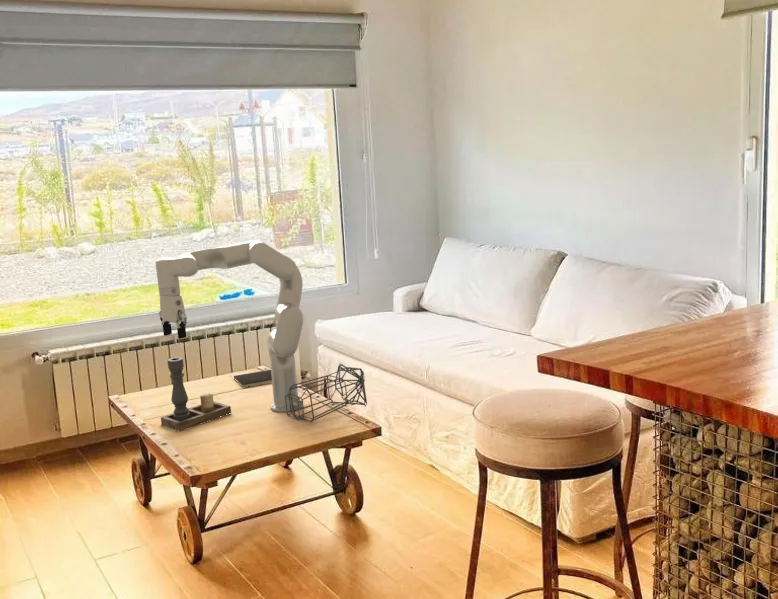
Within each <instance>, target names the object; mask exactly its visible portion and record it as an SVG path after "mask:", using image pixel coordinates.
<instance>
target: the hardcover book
mask: <svg viewBox="0 0 778 599" xmlns="http://www.w3.org/2000/svg"><path fill="white" fill-rule="evenodd" d="M235 379H236V380H237V381H238V382H239V383H238V382H237V381H236V380H235ZM233 380H235V381H236V382H237V383H238V384H239V385H240V387H241V386H242V387H245V388H249V387H248V386H251V387H255V386H254V385H257V386H261V385H260V384H263V385H266V384H265V383H268V384H272V383H271V382H272V375H271V369H268V370H267V369H266V370H260V371H254V372H249V373H243V374H237V375H233ZM242 387H241V388H242Z"/></svg>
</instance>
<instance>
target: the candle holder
mask: <svg viewBox="0 0 778 599" xmlns="http://www.w3.org/2000/svg"><path fill="white" fill-rule="evenodd" d="M184 366H185V365H184V359H183V357H180V356H179V357H171V358H168V359H167V368H168V370H169V371H170V373H171V374H170V375H169V378H170V379H171V380H172V392H171V400H170V401H171V403H172V404H173V405H174V409H173V413H174V415H173V418H174V420H177V421H183V420H186V419H189V418H190V413H189V412H188V411H189V409H188V408H189V407H187V403H188V401H189V396H188V394H187V391H186V389H185V386H184V379H183V377H184V376H185V374H184V373H183V370H184Z"/></svg>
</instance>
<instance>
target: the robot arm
mask: <svg viewBox="0 0 778 599" xmlns="http://www.w3.org/2000/svg"><path fill="white" fill-rule="evenodd" d="M253 264H255V265H256V266H258V267H259V268H260V269H262V270H264V271H266V272H267V273H269V274H271V275H272V276H274V277H276V278H278V279H279V294H278V298H277V303H276V306H275V311H274V318H275V321H276V322H277V323H276V328H275V329H273V330H271V332H269V334H268V336H267V349H268V354H269V356H268V357H269V361H270V362H269V363H270V370H271V375H272V383H271V385H272V396H273V402H272V403H271V405H270V409H271V411H274V412H277V413H286V402H287V412H288V411H290V402H291V398H290V402H289V396H286V395H287V394H289V388H290V387H291V386H292V385H294V384H297V383H298V380H297V379H298V378H297V369H296V359H295V358H296V357H295V354H296V352H297V351H298V347H299V344H300V339H301V334H302V329H303V324H304V314H303V312H302V310H301V309H300V305H301V300H302V293H303V278H302V277H303V276H302V273H301V271H300V268H299V267H298V265H297V264H296V262H295V261H294V260H293V259H291V257H289V256H287V255H285V254H283V253H281V252H280V251H277V249H275V248H273V247H272V246H270V245H268V244H267V243H266V242H264V241H262V240H259V239H255V240H249V241H244V242H238V243H234V244H227V245H223V246H217V247H214V248H213V247H211V248H205V249H200V250H193V251H191V252H190V251H189V252H186V253H182V254H181V255H179V256H178V258H174V257H161V258H158V259H156V261H155V270H156V278H157V287H158V294H159V307H160V311H159V312H158V316H159V320H160V321H161V325H162V330H163V331H162V332H163V336H165V337H166V336H170V335H173V332H172V324H171V323H175V325H176V326H177V328H176V329H177V331H176V332H177V339H184V338H187V331H186V327H187V323H188V322H187V320H188V317H187V315H186V310H185V305H184V301H183V297H182V295H181V289H180V288H181V287H180V279H179V277H181V278H182V277H185V278H186V277H187V278H188V277H193V276H195V275H196V274H197V273H198V272H199V271H202V270H207V269H222V270H223V269H225V270H226V269H234V268H237V267H238V268H239V267H242V266H249V265H253ZM295 386H298V385H295ZM293 388H294V387H293ZM298 390H299V389H298V388H295V389H292V391H291V394H294V395H296V396H298V397H300V395H299V392H298ZM294 395H291V396H292V397H294V398H296V399H298V397H296V396H294ZM285 396H286V402H285ZM296 399H293V398H292V401H293V407H294V410H298V402H297V400H296ZM298 401H301V399H298ZM301 408H302V401H301V402H299V409H301ZM291 411H293V410H292V404H291ZM288 413H289V412H288Z"/></svg>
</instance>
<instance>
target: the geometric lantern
mask: <svg viewBox="0 0 778 599" xmlns="http://www.w3.org/2000/svg"><path fill="white" fill-rule="evenodd" d="M356 371H360V375H359V374H358V373H357V372H356ZM341 372H344V373H343V375H342V376H341ZM346 373H348V374H350V375H351V376H353V377H354V378H356V379H344V377H345V376H346ZM334 374H336V375H335V376H334ZM329 377H331V378H335V379H330V378H329ZM364 377H365V372H364V370H363V369H362V367H351V366H346V365H344V364H342V363H339V365H338V366H337V371H335V372H332V373H330V374H328V375H323V376H319V377H316V378H312V379H308V380H306V381H301V382H299V383H298V382H297V384H294V385H292V386H291V387H290V388H289V394H287V395H286V396H289V402H290V398H291V402H290V411H288V412H287V402H286V396H285V402H286V412H285V413H286V415H287V417H290V418H292V419H294V420H296V421H299V420H302V421H306V422H309V423H313V422H314V421H317V420H319V419H321V418H323V417H325V416H327V415H330V414H332V413H333V412H336V411H338V410H339V409H342V408H344V407H347V405H350V406H355V405H359V406H364V408H365V407H367V405H368V400H367V393H366V386H365V381H366V380H365V378H364ZM324 381H326V382H324ZM320 382H322V383H320ZM346 382H347V383H349V384H346ZM317 383H318V384H317ZM329 383H333V384H331V385H329ZM342 383H344V385H343V386H342ZM313 384H315V385H313ZM326 384H327V385H326ZM295 385H297V386H295ZM310 385H312V386H310ZM323 385H326V386H327V387H324V388H321V389H320V390H316V391H314V392H312V393H311V392H310V391H309V390H310V389H312V388H316V387H320V386H323ZM337 385H339V387H337ZM352 385H354V386H352ZM306 386H309V387H306ZM349 386H352V388H350V389H349V390H347V387H349ZM293 387H294V388H293ZM333 387H334V389H335V390H334V391H333V393H332V395H330V388H333ZM295 388H297V389H302V390H304V392H303V393H302V395H301V396H299V395H298V396H299V397H298V396H296V395H294V394H291V391H292V389H295ZM343 388H344V390H345V391H344V390H343ZM339 389H341V390H339ZM326 390H327V391H328V398H327V399H325V400H321V401H318V402H315V403H313V399H312V398H313V397H312V396H313V395H315V394H318V393H320V392H323V391H326ZM336 391H337V392H338V394H340V396H341V399H342V401H344V402H342V401H334V400H332V399H333V396H334V395H335V393H336ZM355 391H356V393H355V394H354V395H353V396H352V397H350V396H351V394H352V393H354V392H355ZM306 392H307V394H309V395H308V396H306V397H303V396H304V395H305V394H306ZM344 392H345V393H344ZM361 393H362V394H363V395H362V394H361ZM291 395H294V396H296V397H298V399H300V401H298V399H296V398H294V397H292V396H291ZM344 396H345V397H344ZM349 397H350V399H348V398H349ZM356 397H357V399H356ZM292 398H293V399H296V400H297V402H298V409H297V410H294V407H293V401H292ZM307 398H309V400H310V404H309V405H307V406H304V400H305V399H307ZM360 398H361V399H362V400H363V402H362V401H359V399H360ZM355 399H356V400H355ZM301 401H302V407H301V408H300V409H299V402H301ZM327 401H330V402H327ZM325 402H327V403H325ZM322 403H325V404H322ZM291 404H292V410H293V411H291ZM319 404H322V405H320V406H318V407H316V408H314V406H315V405H319ZM331 404H335V406H333V407H331V408H329V409H327V410H325V411H323V412H321V413H319V414H317V415H315V413H314V411H317V410H319V409H321V408H323V407H325V406H328V405H331ZM310 407H311V408H310ZM308 408H310V409H311V410H309V411H306V412H304V411H305V410H304V409H308ZM300 411H302V414H301V413H300ZM296 412H298V414H296ZM310 413H311V415H312V417H308V416H306V415H308V414H310ZM291 415H292V416H291Z"/></svg>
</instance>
